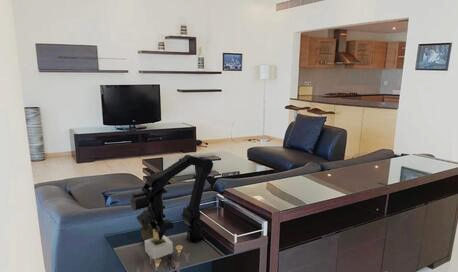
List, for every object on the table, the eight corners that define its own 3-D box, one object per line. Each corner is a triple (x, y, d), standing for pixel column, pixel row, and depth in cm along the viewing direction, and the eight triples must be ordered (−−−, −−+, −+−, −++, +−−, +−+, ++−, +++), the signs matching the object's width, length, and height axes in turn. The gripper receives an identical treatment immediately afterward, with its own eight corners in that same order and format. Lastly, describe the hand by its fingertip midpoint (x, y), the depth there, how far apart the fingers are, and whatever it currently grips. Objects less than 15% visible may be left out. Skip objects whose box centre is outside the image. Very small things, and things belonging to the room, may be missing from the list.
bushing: (160, 238, 149) (159, 225, 148) (164, 242, 146) (163, 229, 145) (152, 241, 147) (151, 228, 145) (156, 245, 144) (155, 232, 142)
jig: (163, 244, 153) (162, 234, 152) (172, 252, 147) (172, 242, 146) (145, 250, 148) (144, 240, 147) (153, 259, 141) (153, 249, 140)
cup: (153, 247, 151) (152, 230, 149) (138, 245, 153) (137, 229, 151) (160, 239, 158) (159, 223, 157) (145, 237, 160) (144, 222, 158)
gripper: (129, 202, 145) (132, 234, 148) (147, 216, 131) (150, 252, 134) (153, 195, 152) (155, 227, 155) (173, 209, 137) (174, 243, 141)
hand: (158, 237), depth 146 cm, fingers closed on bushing, 4 cm apart
